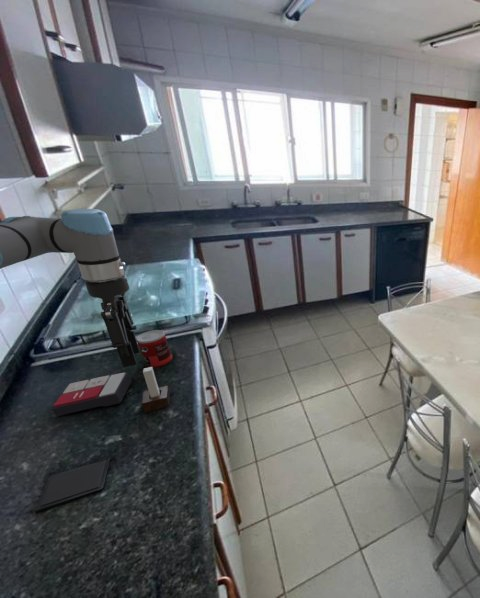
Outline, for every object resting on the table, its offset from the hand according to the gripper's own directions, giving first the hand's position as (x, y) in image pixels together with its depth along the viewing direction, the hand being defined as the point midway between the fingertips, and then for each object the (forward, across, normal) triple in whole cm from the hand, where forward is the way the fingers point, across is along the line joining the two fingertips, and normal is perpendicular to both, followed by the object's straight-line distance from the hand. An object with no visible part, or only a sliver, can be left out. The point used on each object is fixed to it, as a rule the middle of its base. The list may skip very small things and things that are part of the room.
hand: (131, 358), depth 87 cm
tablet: (+20, -18, +12) cm, 29 cm away
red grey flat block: (+19, +14, +14) cm, 28 cm away
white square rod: (+20, +4, -2) cm, 20 cm away
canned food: (+20, +28, 0) cm, 34 cm away
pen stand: (+20, +4, -2) cm, 20 cm away
